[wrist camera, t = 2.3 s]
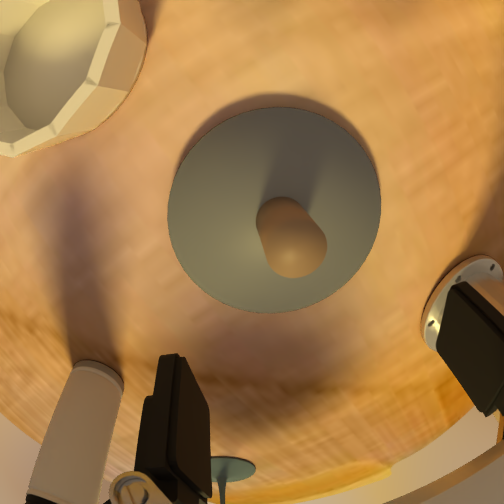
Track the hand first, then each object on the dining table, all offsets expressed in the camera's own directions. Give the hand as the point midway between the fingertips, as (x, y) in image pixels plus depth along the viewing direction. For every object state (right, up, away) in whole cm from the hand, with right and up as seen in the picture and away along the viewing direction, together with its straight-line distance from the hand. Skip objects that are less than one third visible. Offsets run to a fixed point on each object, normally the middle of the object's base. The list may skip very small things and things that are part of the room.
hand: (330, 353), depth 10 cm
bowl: (-16, +18, +6) cm, 25 cm away
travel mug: (-20, -11, +20) cm, 30 cm away
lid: (-1, +6, +13) cm, 15 cm away
